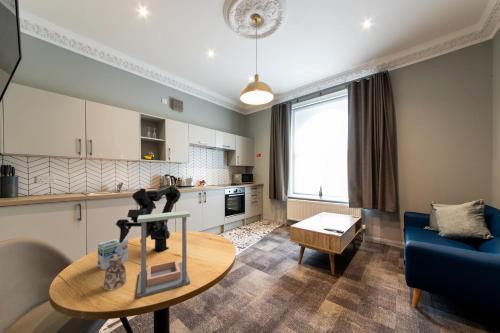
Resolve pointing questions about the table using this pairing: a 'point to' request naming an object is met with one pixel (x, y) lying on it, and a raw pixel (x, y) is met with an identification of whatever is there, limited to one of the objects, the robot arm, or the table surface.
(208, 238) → the table surface
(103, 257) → the light bulb box
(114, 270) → the figurine
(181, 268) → the awning stand
